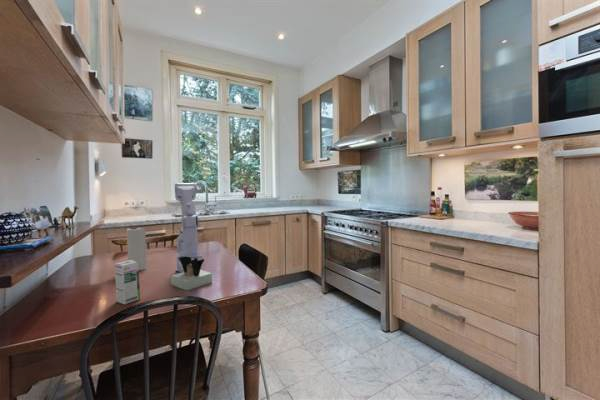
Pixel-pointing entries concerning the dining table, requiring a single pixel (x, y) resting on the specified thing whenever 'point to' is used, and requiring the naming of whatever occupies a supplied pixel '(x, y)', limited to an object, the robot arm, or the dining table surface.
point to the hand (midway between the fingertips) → (191, 273)
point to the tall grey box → (137, 246)
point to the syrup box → (127, 281)
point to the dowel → (189, 270)
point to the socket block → (191, 280)
